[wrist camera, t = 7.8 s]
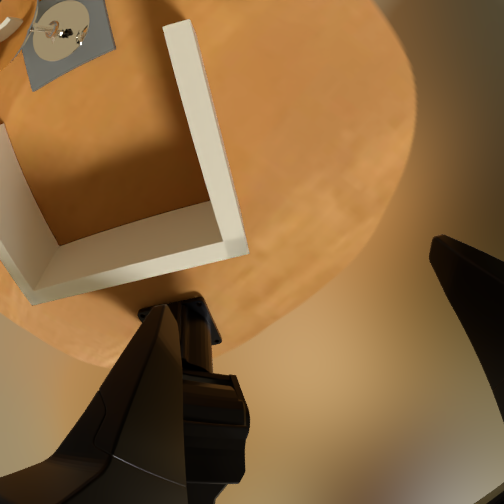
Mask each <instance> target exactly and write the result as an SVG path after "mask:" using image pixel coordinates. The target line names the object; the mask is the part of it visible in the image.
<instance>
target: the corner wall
mask: <svg viewBox="0 0 504 504" xmlns="http://www.w3.org/2000/svg"><path fill="white" fill-rule="evenodd" d="M163 31H164V35H165V39H166V43H167V47H168V51H169V55H170V58H171V62H172V66H173V70H174V73H175V77H176V81H177V85H178V88H179V92H180V96H181V99H182V103H183V107H184V110H185V114H186V117H187V121H188V124H189V128H190V131H191V135H192V138H193V142H194V145H195V149H196V152H197V156H198V159H199V163H200V166H201V170H202V173H203V176H204V180H205V183H206V186H207V190H208V193H209V197H210V200H211V201H207V202H203V203H199V204H195V205H192V206H188V207H184V208H181V209H177V210H173V211H170V212H166V213H163V214H159V215H156V216H152V217H149V218H146V219H142V220H139V221H136V222H132V223H129V224H126V225H122V226H119V227H116V228H113V229H110V230H107V231H103V232H100V233H97V234H94V235H91V236H88V237H85V238H82V239H79V240H76V241H73V242H70V243H68V244H65V245H62V246H59V245H58V243H57V241H56V239H55V238H54V236H53V234H52V232H51V230H50V229H49V227H48V225H47V223H46V221H45V219H44V217H43V215H42V213H41V211H40V209H39V207H38V205H37V203H36V201H35V199H34V197H33V195H32V193H31V191H30V188H29V186H28V184H27V182H26V179H25V177H24V175H23V173H22V170H21V168H20V165H19V163H18V160H17V158H16V155H15V153H14V150H13V148H12V145H11V142H10V140H9V137H8V134H7V131H6V128H5V125H4V123H3V124H1V125H0V260H1V261H2V263H3V265H4V266H5V268H6V269H7V271H8V272H9V274H10V275H11V277H12V278H13V280H14V281H15V283H16V284H17V285H18V287H19V288H20V290H21V291H22V292H23V294H24V295H25V296H26V298H27V299H28V300H29V302H30V303H31V304H32V306H33V305H37V304H41V303H45V302H49V301H54V300H58V299H62V298H66V297H70V296H75V295H79V294H83V293H87V292H91V291H96V290H100V289H104V288H108V287H112V286H117V285H121V284H125V283H129V282H133V281H137V280H142V279H146V278H150V277H154V276H158V275H163V274H167V273H171V272H175V271H179V270H183V269H188V268H192V267H196V266H200V265H204V264H208V263H213V262H217V261H221V260H225V259H229V258H233V257H238V256H242V255H246V254H249V249H248V244H247V240H246V235H245V230H244V225H243V220H242V215H241V211H240V206H239V202H238V198H237V194H236V190H235V186H234V183H233V179H232V175H231V171H230V167H229V163H228V159H227V155H226V151H225V147H224V143H223V139H222V135H221V131H220V127H219V123H218V119H217V115H216V111H215V107H214V103H213V99H212V95H211V91H210V87H209V83H208V79H207V75H206V71H205V67H204V63H203V59H202V55H201V51H200V47H199V43H198V39H197V35H196V32H195V30H194V28H193V25H192V23H191V21H190V19H188V20H184V21H180V22H177V23H173V24H170V25H167V26H163Z"/></svg>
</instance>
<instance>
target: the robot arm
mask: <svg viewBox="0 0 504 504" xmlns="http://www.w3.org/2000/svg"><path fill="white" fill-rule="evenodd" d="M429 260H430V263H431V265H432V267H433V269H434V271H435V273H436V275H437V277H438V279H439V282H440V284H441V286H442V288H443V290H444V292H445V294H446V296H447V298H448V300H449V302H450V304H451V306H452V307H453V309H454V311H455V313H456V315H457V316H458V318H459V320H460V322H461V324H462V326H463V328H464V329H465V332H466V334H467V336H468V337H469V339H470V342H471V344H472V346H473V347H474V350H475V352H476V354H477V356H478V358H479V361H480V363H481V365H482V367H483V370H484V372H485V374H486V377H487V379H488V381H489V383H490V386H491V389H492V391H493V394H494V397H495V399H496V402H497V405H498V407H499V410H500V413H501V416H502V419H503V422H504V262H503V261H501V260H499V259H497V258H495V257H493V256H491V255H489V254H487V253H485V252H482V251H480V250H478V249H476V248H474V247H471V246H469V245H467V244H465V243H462V242H460V241H458V240H455V239H453V238H451V237H448V236H446V235H443V234H442V235H438V236H435V237H433V239H432V243H431V248H430V253H429ZM198 302H200V303H198ZM143 314H144V315H143ZM138 318H139V319H140V320H141V322H142V324H141V326H140V327H139V329H138V330H137V332H136V333H135V335H134V336H133V338H132V339H131V341H130V342H129V344H128V345H127V347H126V348H125V350H124V351H123V353H122V354H121V356H120V357H119V359H118V360H117V362H116V363H115V365H114V366H113V368H112V369H111V371H110V373H109V374H108V376H107V377H106V379H105V381H104V382H103V383H102V385H101V387H100V388H99V391H97V393H96V394H95V396H94V398H93V399H92V401H91V402H90V404H89V405H88V407H87V409H86V410H85V412H84V413H83V414H82V416H81V417H80V419H79V420H78V422H77V423H76V424H75V426H74V427H73V428H72V430H71V431H70V432H69V434H68V435H67V437H66V438H65V439H64V441H63V442H62V443H61V445H60V446H59V448H58V449H57V450H56V452H55V453H54V454H53V455H52V456H50V457H49V458H48V459H46V460H45V461H43V462H41V463H38V464H36V465H33V466H31V467H28V468H25V469H23V470H20V471H17V472H15V473H12V474H9V475H6V476H3V477H0V504H215V500H216V498H217V497H218V496H219V494H220V493H221V492H222V491H223V490H224V488H225V487H226V486H227V485H228V484H238V483H239V482H240V481H241V479H242V477H243V475H244V473H245V442H246V438H247V436H248V433H249V428H250V415H249V410H248V407H247V404H246V401H245V399H244V396H243V393H242V391H241V388H240V385H239V383H238V380H237V377H236V375H222V374H215V373H213V366H212V365H213V364H212V345H216V344H220V343H221V342H222V338H221V335H220V333H219V331H218V329H217V327H216V324H215V322H214V320H213V318H212V316H211V313H210V311H209V309H208V307H207V304H206V302H205V300H204V299H203V298H201V297H196V298H192V299H187V300H183V301H178V302H173V303H169V304H163V305H158V306H154V307H150V308H145V309H140V310H139V311H138ZM474 504H504V483H502V484H501V485H500V486H498V487H497V488H496V489H494V490H493V491H492V492H491V493H489V494H487V495H486V496H485V497H483V498H482V499H480V500H479V501H477V502H476V503H474Z"/></svg>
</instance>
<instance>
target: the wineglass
mask: <svg viewBox="0 0 504 504" xmlns="http://www.w3.org/2000/svg"><path fill="white" fill-rule="evenodd" d="M38 7H39V0H0V72H1V71H2V70H3V69H4V68H6V67H7V66H8V65H9V64H10V63H11V62H12V61H13V59H14V58H15V57H16V56H17V55H18V53H19V52H20V50H21V49H22V48H23V46H24V45H25V43H26V41H27V39H28V37H29V36H30V34H31V32H34V33H33V47H34V50H35V52H36V54H37V55H38V56H39V57H40V58H41V59H43V60H45V61H50V62H53V61H59V60H62V59H65V58H66V57H68V56H70V55H71V54H72V53H74V52H75V51H76V50H77V49H78V48H79V47H80V45H81V44H82V43H83V41H84V39H85V37H86V35H87V33H88V30H89V26H90V15H89V11H88V9H87V7H86V6H85V5H84V4H83V3H81V2H79V1H75V0H66V1H62V2H59V3H57V4H55V5H54V6H52V7H51V8H49V9H48V10H47V11H46V12H45V13H44V14H43V15H42V17H41V18H40V19H39V21H38V23H35V20H36V17H37V13H38Z"/></svg>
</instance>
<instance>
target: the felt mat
mask: <svg viewBox="0 0 504 504" xmlns="http://www.w3.org/2000/svg"><path fill="white" fill-rule="evenodd" d="M62 1H66V0H41V1H40V2H39V7H38V13H37V17H36V20H35V23H38V21H39V19H40V18H41V17H42V15H43V14H44V13H45V12H46V11H47V10H48V9H49V8H51V7H52V6H54V5H55V4H57V3H59V2H62ZM75 1H79V2H81V3H83V4H84V5H85V6H86V7H87V9H88V11H89V15H90V26H89V30H88V33H87V35H86V37H85V39H84V41H83V43H82V44H81V45H80V47H79V48H78V49H77V50H76V51H75V52H74V53H72V54H71V55H70V56H68V57H66V58H65V59H62V60H59V61H53V62H50V61H45V60H43V59H41V58H40V57H39V56H38V55H37V54H36V52H35V50H34V47H33V33H34V32H31V34H30V36H29V37H28V39H27V41H26V43H25V45H24V46H23V48H22V52H23V56H24V61H25V65H26V69H27V73H28V77H29V80H30V84H31V88H32V91H33V92H34V91H36V90H38V89H39V88H41V87H43V86H44V85H46V84H48V83H49V82H51V81H53V80H54V79H56V78H58V77H60V76H62V75H63V74H65V73H67V72H69V71H71V70H73V69H75V68H76V67H78V66H80V65H82V64H84V63H86V62H88V61H91V60H93V59H95V58H97V57H99V56H101V55H103V54H106V53H108V52H110V51H113V50H115V49H116V46H115V42H114V38H113V34H112V30H111V26H110V22H109V18H108V14H107V9H106V5H105V0H75Z"/></svg>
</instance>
